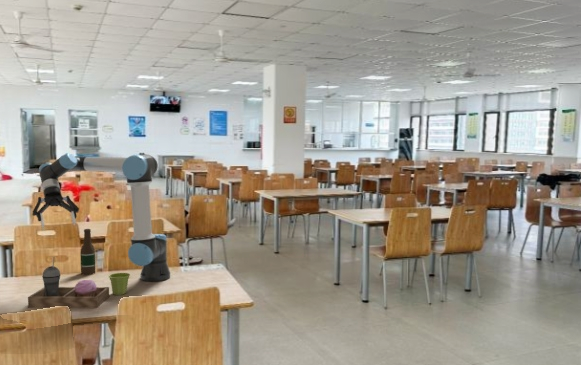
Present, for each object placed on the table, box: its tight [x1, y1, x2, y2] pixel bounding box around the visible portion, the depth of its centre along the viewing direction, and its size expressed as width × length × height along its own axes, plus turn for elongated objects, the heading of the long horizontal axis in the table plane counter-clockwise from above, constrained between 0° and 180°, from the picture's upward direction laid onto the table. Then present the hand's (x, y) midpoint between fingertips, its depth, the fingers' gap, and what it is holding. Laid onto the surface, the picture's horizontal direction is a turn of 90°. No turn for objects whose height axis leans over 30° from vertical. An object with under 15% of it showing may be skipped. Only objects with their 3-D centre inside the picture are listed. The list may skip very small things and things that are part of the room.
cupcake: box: [74, 279, 98, 297], centre depth 216 cm, size 9×9×10 cm
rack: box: [27, 286, 110, 309], centre depth 216 cm, size 29×15×4 cm, turn 91°
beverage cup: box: [41, 256, 61, 297], centre depth 215 cm, size 7×7×20 cm
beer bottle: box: [79, 228, 96, 276], centre depth 263 cm, size 8×8×24 cm
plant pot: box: [108, 272, 131, 296], centre depth 229 cm, size 9×9×9 cm
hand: (59, 224), depth 229 cm, fingers open, 13 cm apart
